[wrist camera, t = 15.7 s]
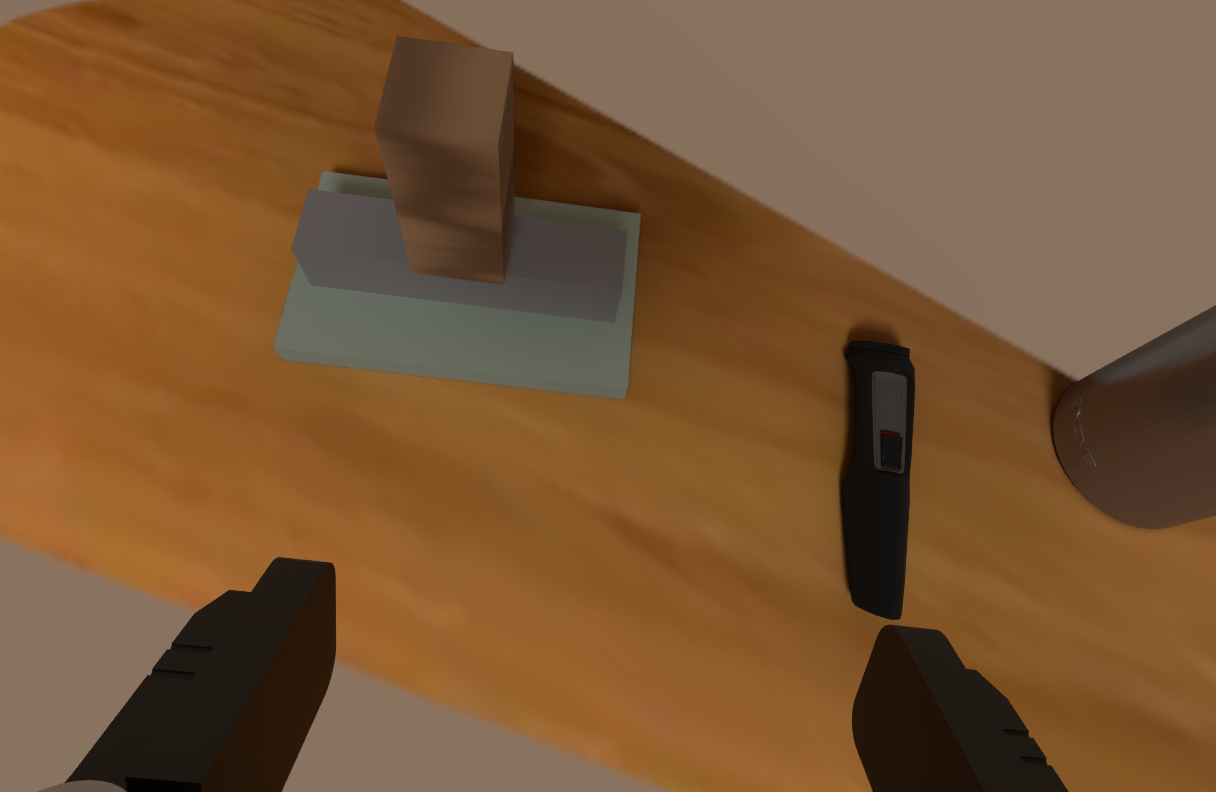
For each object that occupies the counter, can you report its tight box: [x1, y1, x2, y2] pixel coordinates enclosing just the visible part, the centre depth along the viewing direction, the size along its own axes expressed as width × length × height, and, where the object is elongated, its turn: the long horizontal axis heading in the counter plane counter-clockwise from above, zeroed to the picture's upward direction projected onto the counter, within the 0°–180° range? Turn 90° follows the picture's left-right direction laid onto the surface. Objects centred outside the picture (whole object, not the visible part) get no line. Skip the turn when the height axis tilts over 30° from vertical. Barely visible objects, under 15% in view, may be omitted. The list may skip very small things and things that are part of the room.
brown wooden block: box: [375, 36, 515, 285], centre depth 32 cm, size 4×4×10 cm
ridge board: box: [273, 171, 641, 399], centre depth 39 cm, size 18×11×5 cm, turn 85°
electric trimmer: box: [842, 341, 915, 620], centre depth 39 cm, size 4×16×3 cm, turn 170°
